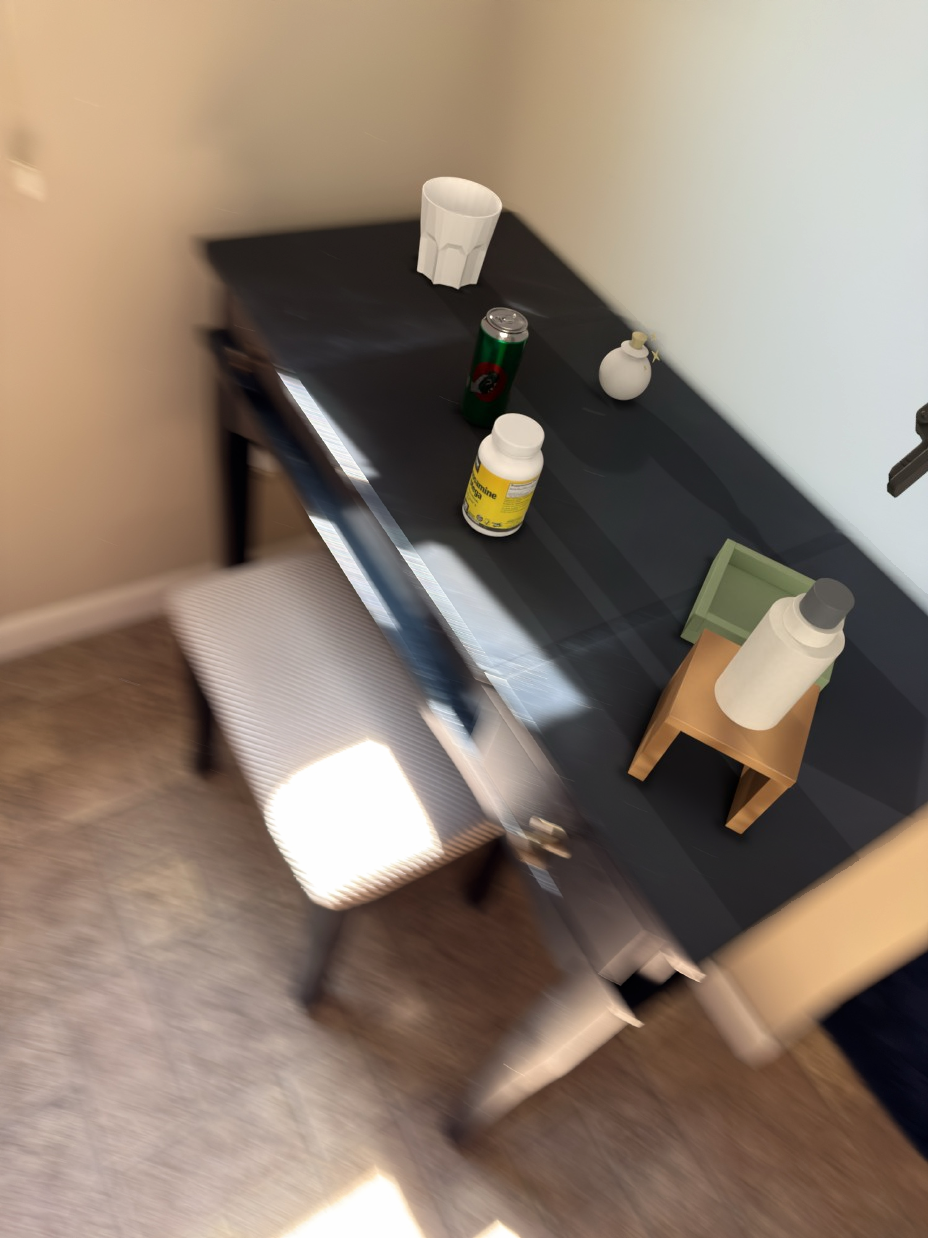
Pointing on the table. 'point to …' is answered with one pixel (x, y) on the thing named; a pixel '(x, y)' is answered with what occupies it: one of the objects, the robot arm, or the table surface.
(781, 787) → the wooden stand
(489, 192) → the cup
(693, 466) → the table surface
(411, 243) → the table surface
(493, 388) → the soda can
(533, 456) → the pill bottle
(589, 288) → the table surface
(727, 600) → the sage green tray
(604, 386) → the round potion bottle
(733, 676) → the white bottle
